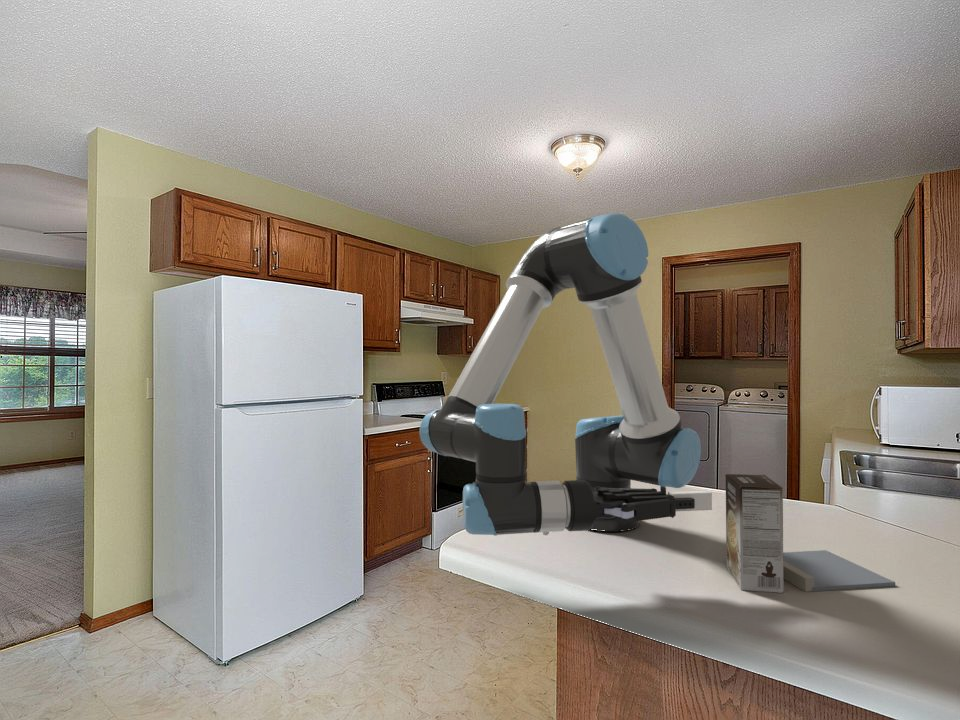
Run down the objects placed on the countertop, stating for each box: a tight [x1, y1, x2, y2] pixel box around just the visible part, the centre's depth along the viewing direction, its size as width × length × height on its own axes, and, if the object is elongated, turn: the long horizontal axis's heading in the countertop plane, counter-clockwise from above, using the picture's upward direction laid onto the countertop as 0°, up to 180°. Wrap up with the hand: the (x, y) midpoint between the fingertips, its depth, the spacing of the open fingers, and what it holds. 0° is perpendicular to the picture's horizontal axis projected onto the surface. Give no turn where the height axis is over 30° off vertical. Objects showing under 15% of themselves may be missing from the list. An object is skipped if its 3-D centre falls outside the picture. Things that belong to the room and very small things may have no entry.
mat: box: [783, 549, 896, 593], centre depth 87 cm, size 14×15×2 cm
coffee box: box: [725, 473, 785, 594], centre depth 84 cm, size 9×6×16 cm
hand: (709, 500), depth 83 cm, fingers closed
